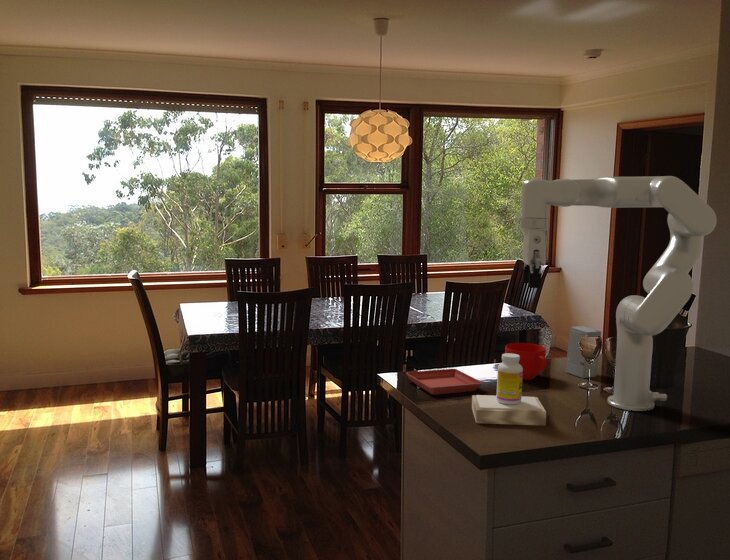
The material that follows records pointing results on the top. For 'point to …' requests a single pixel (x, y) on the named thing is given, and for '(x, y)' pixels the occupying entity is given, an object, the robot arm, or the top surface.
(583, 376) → the skincare box
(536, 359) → the ceramic cup
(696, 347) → the top surface
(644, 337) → the robot arm
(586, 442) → the top surface
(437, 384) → the plant saucer
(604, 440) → the top surface
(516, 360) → the supplement bottle
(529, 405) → the birch base
